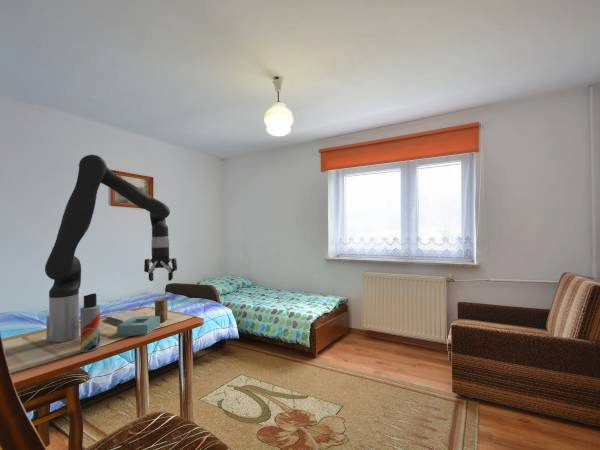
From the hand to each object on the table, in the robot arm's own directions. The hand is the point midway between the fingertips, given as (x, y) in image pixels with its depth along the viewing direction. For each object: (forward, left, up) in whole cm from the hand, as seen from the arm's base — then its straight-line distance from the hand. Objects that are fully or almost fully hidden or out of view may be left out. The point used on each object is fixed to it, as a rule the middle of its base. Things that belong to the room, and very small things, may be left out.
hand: (160, 280), depth 136 cm
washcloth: (-19, +5, -20) cm, 28 cm away
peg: (0, 0, -19) cm, 19 cm away
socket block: (-4, -12, -19) cm, 23 cm away
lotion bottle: (-12, -31, -19) cm, 38 cm away
